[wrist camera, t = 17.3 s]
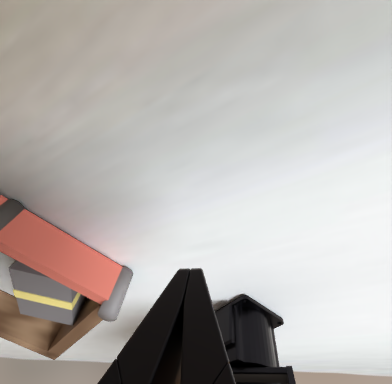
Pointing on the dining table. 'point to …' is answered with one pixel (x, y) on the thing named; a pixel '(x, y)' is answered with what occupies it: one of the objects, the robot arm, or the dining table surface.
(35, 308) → the grey taped parcel
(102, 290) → the gate
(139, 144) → the dining table surface
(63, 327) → the tan frame
